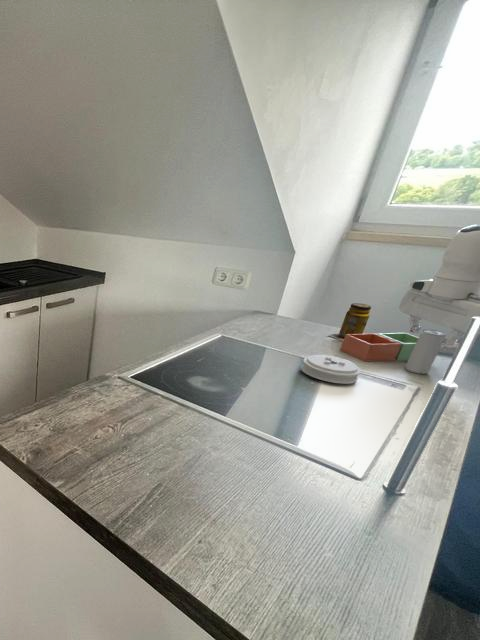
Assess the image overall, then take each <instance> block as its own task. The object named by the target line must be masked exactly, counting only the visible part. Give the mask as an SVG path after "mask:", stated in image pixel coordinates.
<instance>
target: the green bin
mask: <svg viewBox="0 0 480 640" xmlns="http://www.w3.org/2000/svg"><path fill="white" fill-rule="evenodd" d="M376 334H377V335H380V336H382V337H385V338H388V339H390V340H393V341H395V342H398V343H400V344H401V346H400V348H399V351H398V353H397V355H396V357H395V360H394V361H397V362H399V361H400V362H402V361H408V360H409V358H410V356H411V353H412V351H413V349H414V347H415V345H416V342H417V340H418V338H419V336H417V335H413V334H411V333H408V332H378V333H376Z"/></svg>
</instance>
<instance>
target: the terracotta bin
mask: <svg viewBox="0 0 480 640" xmlns="http://www.w3.org/2000/svg"><path fill="white" fill-rule="evenodd" d="M400 346H401V344H400V343H398V342H395V341H393V340H390V339H388V338H385V337H382V336H380V335H377V333H373V332H372V333H363V334H346V335H345V338H344V341H342V344H341V346H340V349H339V350H340V351H342V352H343V353H345V354H348V355H351V356H352V357H354V358H356V359H358V360H360V361H363V362H394V361H396V360H395V357H396V355H397V353H398V351H399V348H400Z"/></svg>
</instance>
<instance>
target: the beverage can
mask: <svg viewBox="0 0 480 640" xmlns="http://www.w3.org/2000/svg"><path fill="white" fill-rule="evenodd" d="M419 333H420V334H419V336H418V337H419V338H418V340H417V342H416V345H415V347H414V349H413V351H412V353H411V356H410V358H409V360H407V363H406V365H405V369H406V370H407V371H408V372H411V373H414V374H417V375H426V374H428V373H429V372H430V370H431V368H432V367H433V364H434V362H435V360H436V358H437V356H438V354H439V352H440V350H441V348H442V346H443V345H444V344H443V343H442V341H443V339H444V337H447V336H446V335H447V333H446V332H445V331H441V330H437V329H429V328H428V329H427V328H426V329H425V328H424V329H422V331H420V332H419Z"/></svg>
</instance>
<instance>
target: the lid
mask: <svg viewBox="0 0 480 640" xmlns="http://www.w3.org/2000/svg"><path fill="white" fill-rule="evenodd" d="M302 361H303V364H302V365H301V367H300V370H301V371H302V372H303V373H304V374H306V375H308V376H309V377H312V378H315V379H316V380H317V379H318V380H320V381H325V382H329V383H335V384H353V383H356V382H357V381H358V380H359V378H358V376H359V375H360V374H361V372H362V370H361V368H360V367H358V365H357V364H355V362H353V361H350V360H348V359H345V358H342V357H338V356H332V355H329V354H328V355H327V354H312V355H309V356H306V357H304V358H303V360H302Z"/></svg>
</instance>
